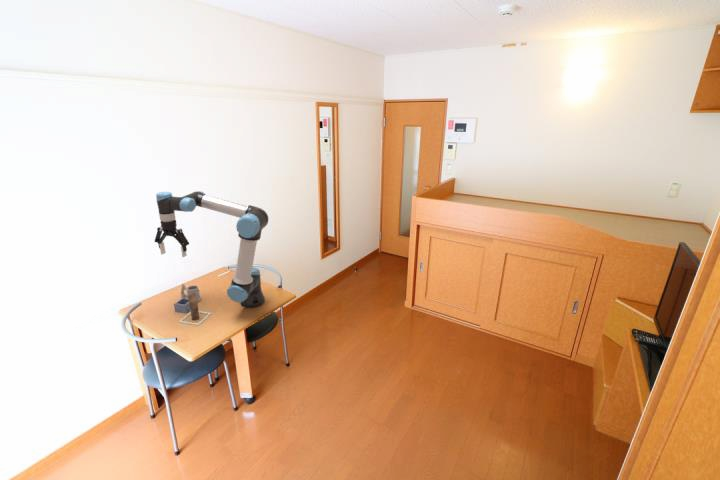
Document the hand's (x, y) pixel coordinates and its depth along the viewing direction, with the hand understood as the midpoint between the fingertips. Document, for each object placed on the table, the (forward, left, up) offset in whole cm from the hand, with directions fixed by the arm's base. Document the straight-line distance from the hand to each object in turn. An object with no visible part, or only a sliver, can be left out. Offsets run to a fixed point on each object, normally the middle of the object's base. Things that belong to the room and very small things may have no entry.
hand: (173, 255), depth 192 cm
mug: (-1, -7, -35) cm, 36 cm away
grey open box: (-4, +3, -35) cm, 35 cm away
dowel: (-16, +10, -34) cm, 39 cm away
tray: (-16, +10, -35) cm, 39 cm away
